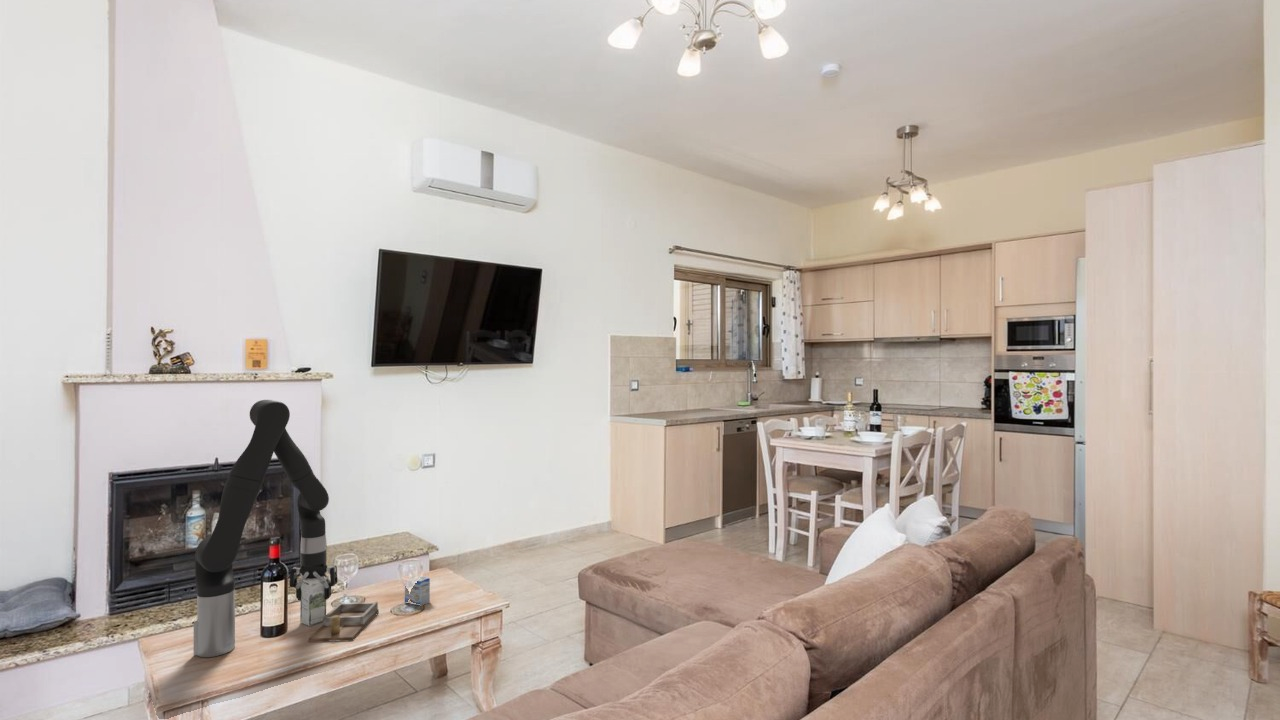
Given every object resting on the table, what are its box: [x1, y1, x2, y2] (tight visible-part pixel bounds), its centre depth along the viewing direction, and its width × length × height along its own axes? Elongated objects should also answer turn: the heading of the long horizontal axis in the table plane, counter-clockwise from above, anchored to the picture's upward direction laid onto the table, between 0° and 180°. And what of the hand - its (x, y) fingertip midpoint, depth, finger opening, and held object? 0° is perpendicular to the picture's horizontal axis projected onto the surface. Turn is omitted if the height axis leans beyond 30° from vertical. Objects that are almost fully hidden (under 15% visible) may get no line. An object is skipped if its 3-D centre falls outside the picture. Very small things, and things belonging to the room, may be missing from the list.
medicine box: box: [404, 576, 431, 606], centre depth 221 cm, size 8×4×9 cm, turn 62°
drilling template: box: [308, 601, 380, 643], centre depth 201 cm, size 13×22×6 cm, turn 3°
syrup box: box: [299, 576, 327, 627], centre depth 204 cm, size 6×6×14 cm
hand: (313, 599), depth 205 cm, fingers closed on syrup box, 8 cm apart
